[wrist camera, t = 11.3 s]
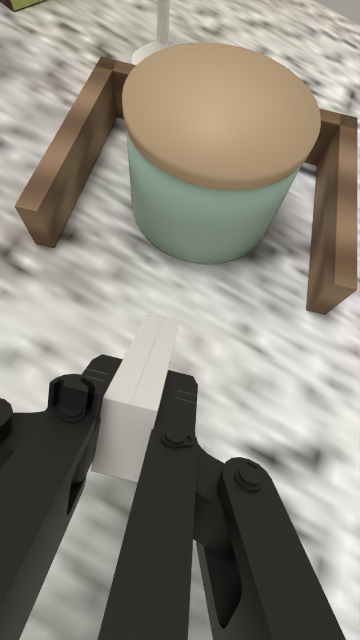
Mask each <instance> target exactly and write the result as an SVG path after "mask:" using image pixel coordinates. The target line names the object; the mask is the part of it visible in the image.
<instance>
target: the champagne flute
mask: <svg viewBox="0 0 360 640" xmlns="http://www.w3.org/2000/svg"><path fill="white" fill-rule="evenodd" d="M169 5H170V0H157V39H156V40H154V41H152V42H150V43H148V44H146V45H144V46H142V47H141V48H139V49H137V50H136V51H135V52H134V53H133V55H132V59H131V60H132V64H134V65H137V64H138V63H139V62H141V61H142V60H143V59H145V58H146V57H148V56H150V55H151V54H153V53H155V52H158V51H160V50H162V49H165V48H169V47H172V46H175V45H174V44H172V43H171V42H170V41H168V30H169Z"/></svg>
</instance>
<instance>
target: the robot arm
mask: <svg viewBox="0 0 360 640" xmlns="http://www.w3.org/2000/svg"><path fill="white" fill-rule="evenodd" d="M179 322H180V320H178V319H174V318H170V317H166V316H162V315H158V314H154V313H150V312H148V314H147V316H146V318H145V319H144V321H143V323H142V325H141V327H140V329H139V331H138V333H137V335H136V336H135V338H134V340H133V342H132V344H131V346H130V348H129V350H128V351H127V353H126V355H125V357H124V359H119V358H115V357H111V356H107V355H103V354H102V355H100V356H98V357H97V358H95V359H93V360H92V361H91V362H90V364H89V365H88V366H87V368H86V369H85V371H84V372H83V373H82V375H79V374H68V375H63V376H60V377H57V378H55V379H54V380H52V381H51V382H50V385H49V397H48V408H47V409H46V410H45V411H42V412H35V413H13V410H12V407H11V404H10V403H8V402H7V401H6V400H5V399H1V398H0V640H19V639H20V636H21V634H22V632H23V629H24V627H25V625H26V622H27V620H28V618H29V615H30V613H31V611H32V608H33V606H34V604H35V601H36V599H37V597H38V594H39V592H40V590H41V587H42V585H43V583H44V580H45V578H46V576H47V573H48V571H49V569H50V566H51V564H52V562H53V559H54V557H55V555H56V552H57V550H58V547H59V545H60V543H61V540H62V538H63V536H64V533H65V531H66V529H67V526H68V524H69V522H70V519H71V517H72V515H73V512H74V510H75V508H76V505H77V503H78V501H79V498H80V496H81V494H82V491H83V489H84V486H85V481H86V475H87V472H88V470H89V468H90V465H91V463H92V467H91V471H94V472H98V473H102V474H106V475H110V476H114V477H118V478H122V479H126V480H130V481H134V482H138V484H137V488H136V492H135V496H134V500H133V503H132V507H131V511H130V515H129V519H128V523H127V527H126V531H125V535H124V539H123V543H122V547H121V550H120V554H119V558H118V562H117V566H116V570H115V574H114V578H113V582H112V586H111V590H110V594H109V597H108V601H107V605H106V609H105V613H104V617H103V621H102V625H101V629H100V633H99V637H98V640H188V623H189V604H190V585H191V566H192V547H193V539H194V540H195V541H196V545H197V551H198V557H199V562H200V568H201V574H202V579H203V585H204V591H205V596H206V602H207V608H208V613H209V619H210V625H211V630H212V636H213V640H346V639H345V637H344V635H343V632H342V630H341V628H340V626H339V624H338V622H337V619H336V617H335V615H334V613H333V611H332V609H331V606H330V604H329V602H328V600H327V598H326V596H325V593H324V591H323V589H322V587H321V585H320V583H319V580H318V578H317V576H316V574H315V572H314V570H313V568H312V565H311V563H310V561H309V559H308V557H307V555H306V552H305V550H304V548H303V546H302V544H301V542H300V539H299V537H298V535H297V533H296V531H295V529H294V526H293V524H292V522H291V520H290V518H289V516H288V513H287V511H286V509H285V507H284V505H283V503H282V500H281V498H280V496H279V494H278V492H277V490H276V487H275V485H274V483H273V481H272V479H271V478H270V476H269V475H268V473H267V472H266V470H264V469H263V468H262V467H261V466H260V465H259V464H257V463H255V462H253V461H252V460H250V459H246V458H241V457H237V458H231V459H230V460H228V461H227V462H225V463H223V462H221V461H219V460H217V459H215V458H213V457H212V456H210V455H209V454H207V453H206V452H205V451H204V450H203V449H202V448H201V447H200V445H199V444H198V442H197V438H196V436H195V422H196V407H197V404H196V403H197V391H198V385H197V383H196V381H195V379H194V377H193V376H190V375H186V374H182V373H178V372H174V371H170V370H168V367H169V363H170V359H171V354H172V350H173V346H174V342H175V338H176V334H177V330H178V326H179Z"/></svg>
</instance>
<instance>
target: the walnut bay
mask: <svg viewBox="0 0 360 640" xmlns="http://www.w3.org/2000/svg"><path fill="white" fill-rule="evenodd" d="M135 66H136V65H134V64H129V63H125V62H121V61H117V60H112V59H108V58H104V57H101V58H100V59H99V61H98V63H97V65H96V66H95V68H94V70H93V71H92V73H91V75H90V77H89V78H88V80H87V82H86V84H85V85H84V87H83V89H82V90H81V92H80V94H79V96H78V97H77V99H76V101H75V103H74V104H73V106H72V108H71V109H70V111H69V113H68V115H67V116H66V118H65V120H64V122H63V123H62V125H61V127H60V129H59V130H58V132H57V134H56V135H55V137H54V139H53V141H52V142H51V144H50V146H49V148H48V149H47V151H46V153H45V154H44V156H43V158H42V160H41V161H40V163H39V165H38V167H37V168H36V170H35V172H34V173H33V175H32V177H31V179H30V180H29V182H28V184H27V186H26V187H25V189H24V191H23V192H22V194H21V196H20V198H19V199H18V201H17V203H16V205H15V208H16V210H17V211H18V213H19V215H20V217H21V219H22V220H23V222H24V224H25V226H26V227H27V229H28V231H29V233H30V235H31V236H32V238H33V240H34V242H35V243H36V244H40V245H44V246H48V247H52V248H54V247H55V245H56V243H57V241H58V239H59V237H60V235H61V233H62V231H63V228H64V226H65V224H66V222H67V220H68V218H69V216H70V214H71V212H72V210H73V208H74V205H75V203H76V201H77V199H78V197H79V195H80V193H81V191H82V189H83V187H84V185H85V182H86V180H87V178H88V176H89V174H90V172H91V170H92V168H93V166H94V164H95V162H96V159H97V157H98V155H99V153H100V151H101V149H102V147H103V145H104V143H105V141H106V139H107V136H108V134H109V132H110V130H111V128H112V126H113V124H114V122H115V120H116V118H117V117H121V118H124V116H123V104H122V92H123V87H124V84H125V81H126V79H127V77H128V75H129V74H130V72H131V71H132V69H133V68H134V67H135ZM319 111H320V116H321V127H320V132H319V135H318V138H317V140H316V142H315V144H314V146H313V148H312V150H311V152H310V154H309V155H308V157H307V159H306V160H305V162H309V163H313V164H317V172H316V186H315V199H314V213H313V226H312V240H311V253H310V267H309V280H308V294H307V307H306V310H309V311H313V312H317V313H322V314H327V313H328V312H329V311H330V310H332V309H333V308H334V307H336V306H337V305H338V304H339V303H341V302H342V301H343V300H345V299H346V298H347V297H348V296H350V295H351V294H352V293H354V292H355V291H356V290H357V118H356V117H352V116H348V115H344V114H340V113H335V112H331V111H327V110H323V109H319Z"/></svg>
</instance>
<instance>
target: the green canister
mask: <svg viewBox="0 0 360 640" xmlns="http://www.w3.org/2000/svg"><path fill="white" fill-rule="evenodd" d="M122 104H123V116H124V123H125V127H126V133H127V146H128V158H129V171H130V183H131V196H132V209H133V214H134V218H135V220H136V223H137V225H138V227H139V229H140V230H141V232H142V233H143V234H144V236H145V237H146V238H147V239H148V240H149V241H150V242H151V243H152V244H153V245H154V246H156V247H157V248H158V249H160V250H161V251H163V252H165V253H166V254H168V255H170V256H173V257H175V258H177V259H181V260H184V261H187V262H192V263H199V264H217V263H224V262H228V261H232V260H235V259H237V258H240V257H242V256H244V255H245V254H247V253H249V252H250V251H251V250H252V249H254V248H255V247H256V246H257V245H258V244H259V243H260V242H261V240H262V239H263V237H264V235H265V234H266V232H267V230H268V228H269V226H270V224H271V222H272V220H273V218H274V216H275V215H276V213H277V211H278V209H279V207H280V205H281V203H282V201H283V199H284V197H285V196H286V194H287V192H288V190H289V188H290V186H291V184H292V182H293V180H294V178H295V177H296V175H297V173H298V171H299V169H300V167H301V165H302V164H303V163H304V162H305V160H306V159H307V157H308V155H309V154H310V152H311V150H312V148H313V146H314V144H315V142H316V140H317V138H318V135H319V132H320V127H321V116H320V111H319V107H318V105H317V102H316V100H315V98H314V96H313V94H312V93H311V91H310V90H309V89H308V87H307V86H306V85H305V84H304V82H303V81H302V80H301V79H300V78H299V77H298V76H296V75H295V74H294V73H293V72H292V71H290V70H289V69H287V68H286V67H285V66H283V65H282V64H280V63H278V62H276V61H275V60H273V59H271V58H269V57H267V56H264V55H262V54H260V53H257V52H254V51H251V50H248V49H245V48H241V47H237V46H232V45H226V44H219V43H189V44H181V45H176V46H172V47H169V48H165V49H162V50H160V51H158V52H155V53H153V54H151V55H150V56H148V57H146V58H145V59H143V60H142V61H141V62H139V63H138V64H137V65H136V66H135V67H134V68H133V69H132V71H131V72H130V74H129V75H128V77H127V79H126V81H125V84H124V87H123V92H122Z"/></svg>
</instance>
